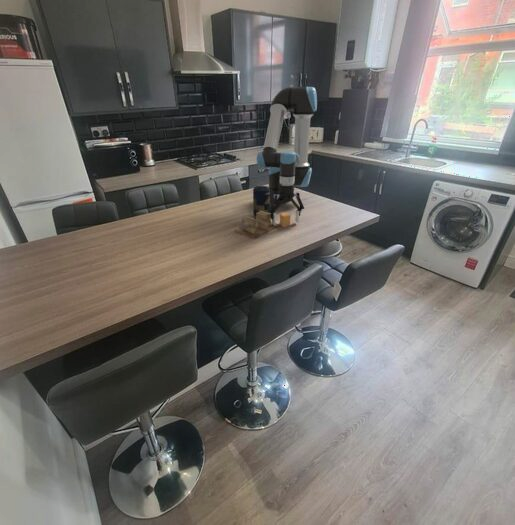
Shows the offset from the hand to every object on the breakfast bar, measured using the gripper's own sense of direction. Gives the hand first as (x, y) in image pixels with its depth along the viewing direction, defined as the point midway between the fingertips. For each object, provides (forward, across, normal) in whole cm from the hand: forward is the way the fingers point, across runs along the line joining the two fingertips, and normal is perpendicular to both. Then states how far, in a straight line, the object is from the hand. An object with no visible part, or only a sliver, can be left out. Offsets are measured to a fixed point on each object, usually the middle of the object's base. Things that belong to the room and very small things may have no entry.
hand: (285, 223), depth 159 cm
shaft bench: (+2, -16, +1) cm, 16 cm away
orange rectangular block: (+1, 0, +1) cm, 2 cm away
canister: (+1, -8, +17) cm, 19 cm away
